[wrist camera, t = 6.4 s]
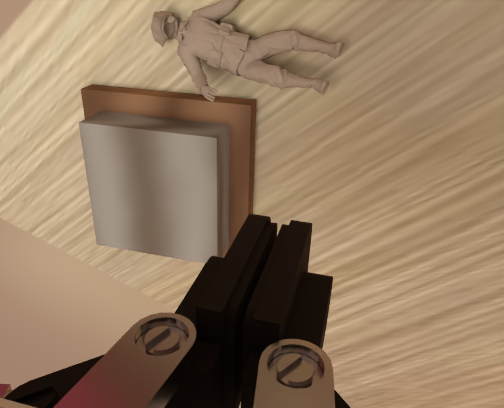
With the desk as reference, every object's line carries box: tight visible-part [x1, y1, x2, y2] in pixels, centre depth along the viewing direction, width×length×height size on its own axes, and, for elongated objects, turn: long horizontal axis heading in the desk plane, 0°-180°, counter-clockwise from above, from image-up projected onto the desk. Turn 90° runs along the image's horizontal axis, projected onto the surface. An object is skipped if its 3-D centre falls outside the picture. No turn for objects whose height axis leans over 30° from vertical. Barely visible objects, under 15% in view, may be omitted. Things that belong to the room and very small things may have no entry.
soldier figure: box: [151, 0, 343, 102], centre depth 30 cm, size 8×5×12 cm
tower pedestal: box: [79, 85, 256, 263], centre depth 35 cm, size 13×13×4 cm
